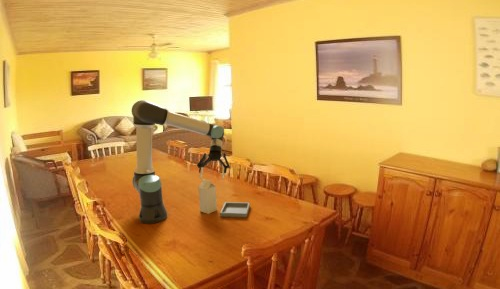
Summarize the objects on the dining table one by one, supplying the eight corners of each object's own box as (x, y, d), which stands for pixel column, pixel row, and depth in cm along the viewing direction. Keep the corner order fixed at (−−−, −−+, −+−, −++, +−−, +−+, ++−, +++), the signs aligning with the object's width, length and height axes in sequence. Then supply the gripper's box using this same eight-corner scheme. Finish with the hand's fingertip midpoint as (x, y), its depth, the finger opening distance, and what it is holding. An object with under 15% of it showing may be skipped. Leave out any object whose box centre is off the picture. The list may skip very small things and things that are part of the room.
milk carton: (208, 207, 182) (206, 177, 178) (217, 210, 177) (215, 179, 173) (199, 211, 176) (197, 180, 172) (208, 214, 172) (206, 183, 168)
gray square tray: (220, 217, 169) (219, 212, 168) (225, 205, 183) (225, 201, 183) (246, 217, 167) (246, 213, 166) (249, 206, 181) (249, 202, 181)
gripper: (236, 150, 194) (233, 180, 183) (198, 150, 197) (193, 180, 186) (234, 144, 188) (231, 175, 177) (195, 144, 191) (190, 174, 180)
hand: (211, 177), depth 181 cm, fingers open, 13 cm apart
